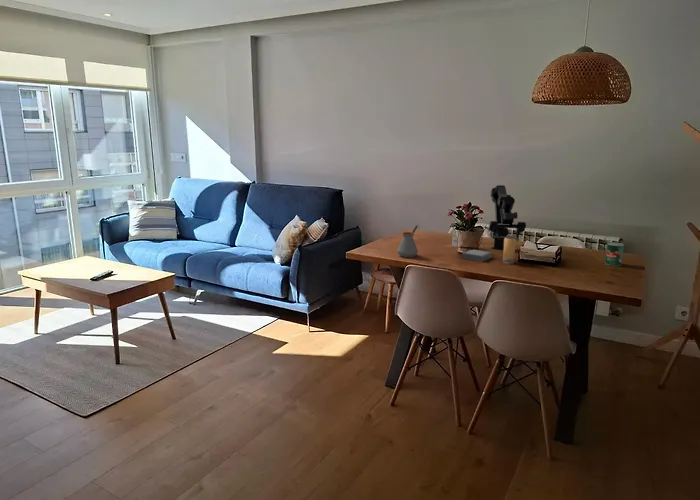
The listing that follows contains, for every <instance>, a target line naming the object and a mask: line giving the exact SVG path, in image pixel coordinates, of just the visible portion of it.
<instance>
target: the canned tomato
mask: <svg viewBox="0 0 700 500" xmlns="http://www.w3.org/2000/svg"><path fill="white" fill-rule="evenodd" d="M624 247H625V244H624V243H621V242H615V241H614V242H613V241H609V242H607V243H606V249H605V256H604V257H605V258H604V263H605V264H604V265H606V264H607V266H609V265H612V266H611V267H622V261H623V255H624Z"/></svg>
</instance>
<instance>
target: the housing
mask: <svg viewBox="0 0 700 500" xmlns="http://www.w3.org/2000/svg"><path fill="white" fill-rule="evenodd" d="M516 240H517V239H516V238H515V235H513V234H508V235H507V237H506V238H504V249H503V254H502V256H503V257H502V263H503V264H508V265H510V264H511V265H512V264H514V262H515V253H516V252H515V251H516Z"/></svg>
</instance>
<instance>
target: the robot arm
mask: <svg viewBox="0 0 700 500" xmlns="http://www.w3.org/2000/svg"><path fill="white" fill-rule="evenodd" d="M490 197H491V202H493V203H494V213H495V220H491V221H490V222H489V224H488V231H490V232H491V239H493V246H491V247H490V248H491V249H494V250H504V238H506V237H507V235H510V234H509V233H510V230H509V229H516V231H515V234H516V235H515V237H516V240H517V241H518V239H519V236H520V233H521V234H522V233H523V232H525V230H526V227H527V224H526V222H525V221H518V222H517V223H516V224H515V223H514V219H515V220H516V219H518V212H517V211H516V212H515V211H514V212H512V211H513V209H514V205H515V201H516V200H515V198H514V197H513V196H511V194H508V193H507V189H506V185H501V184H498V185H496V186H495V187H492V189H491V190H490Z"/></svg>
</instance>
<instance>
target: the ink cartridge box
mask: <svg viewBox="0 0 700 500" xmlns="http://www.w3.org/2000/svg"><path fill="white" fill-rule="evenodd" d="M451 240H452V246H455V247H454V248H457V247H456V246H457V237H456V233H455V231H454V229H453V228H452V239H451Z"/></svg>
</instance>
